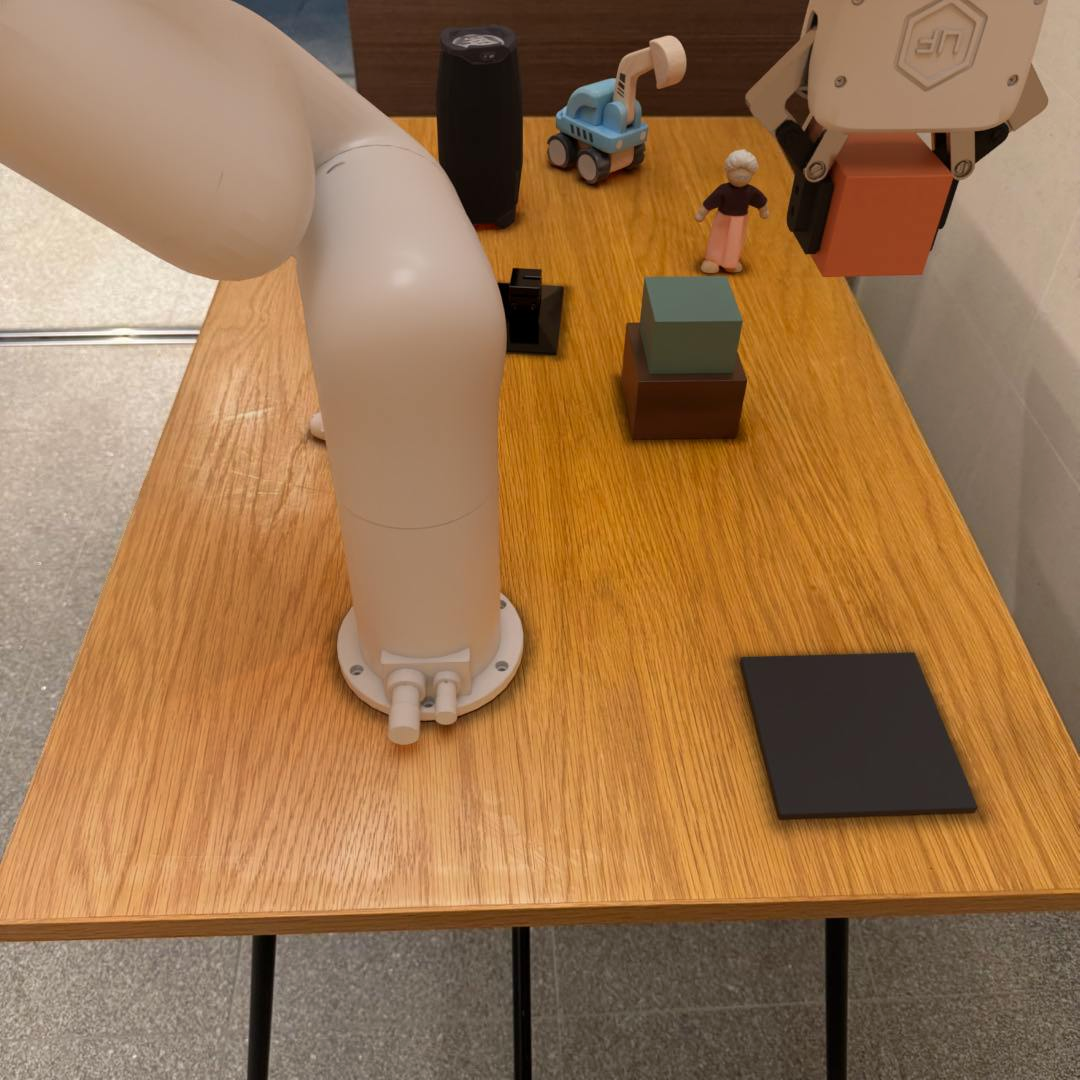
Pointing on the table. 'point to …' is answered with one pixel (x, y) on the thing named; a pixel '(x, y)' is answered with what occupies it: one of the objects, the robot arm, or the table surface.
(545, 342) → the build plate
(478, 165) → the portable speaker
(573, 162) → the toy excavator
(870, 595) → the table surface
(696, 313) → the middle block
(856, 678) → the mat
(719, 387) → the base block
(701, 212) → the grandmother figurine
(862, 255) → the orange-red cube
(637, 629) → the table surface
